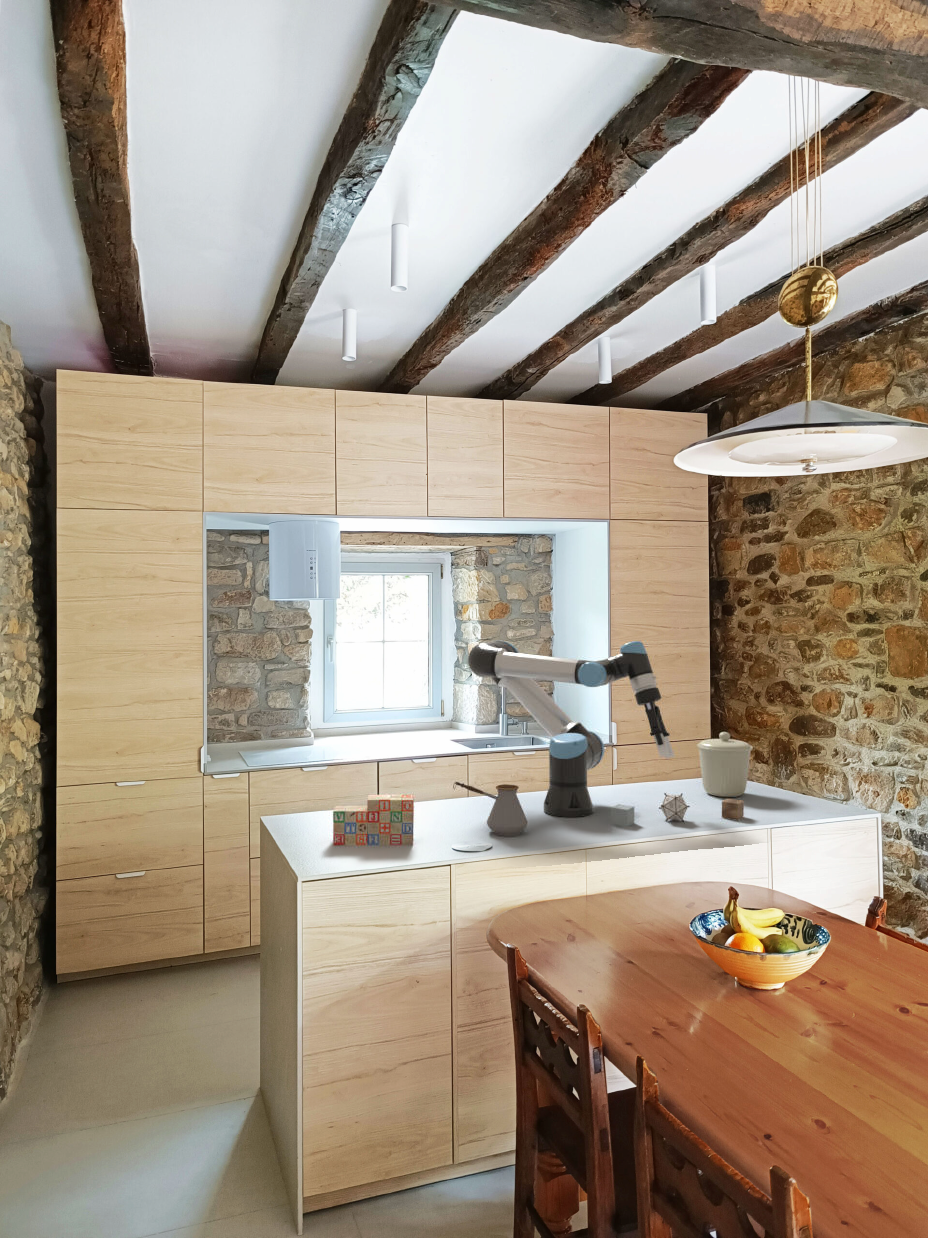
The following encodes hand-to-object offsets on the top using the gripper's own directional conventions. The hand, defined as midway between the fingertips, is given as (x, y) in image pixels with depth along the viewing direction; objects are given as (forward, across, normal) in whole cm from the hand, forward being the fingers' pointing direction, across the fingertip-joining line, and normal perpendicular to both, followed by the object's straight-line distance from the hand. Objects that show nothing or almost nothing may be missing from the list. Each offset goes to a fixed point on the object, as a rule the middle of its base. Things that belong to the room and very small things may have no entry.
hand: (667, 756), depth 255 cm
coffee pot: (+9, -34, +50) cm, 61 cm away
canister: (+15, +40, -10) cm, 44 cm away
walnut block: (+22, +8, -12) cm, 26 cm away
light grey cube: (+16, -10, +17) cm, 26 cm away
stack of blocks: (+4, -52, +76) cm, 92 cm away
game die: (+19, -2, +4) cm, 19 cm away
